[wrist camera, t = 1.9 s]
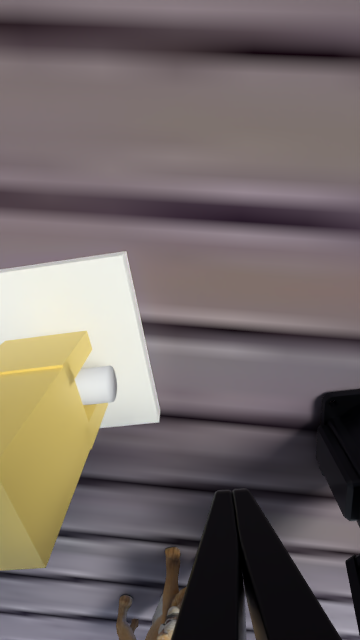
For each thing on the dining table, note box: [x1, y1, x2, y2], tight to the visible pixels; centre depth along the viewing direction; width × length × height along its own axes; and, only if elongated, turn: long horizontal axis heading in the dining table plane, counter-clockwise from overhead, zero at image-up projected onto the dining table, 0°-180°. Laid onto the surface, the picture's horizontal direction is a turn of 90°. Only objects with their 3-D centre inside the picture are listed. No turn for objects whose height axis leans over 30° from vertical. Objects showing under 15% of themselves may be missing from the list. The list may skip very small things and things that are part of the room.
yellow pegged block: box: [0, 331, 108, 571], centre depth 12 cm, size 4×4×8 cm
